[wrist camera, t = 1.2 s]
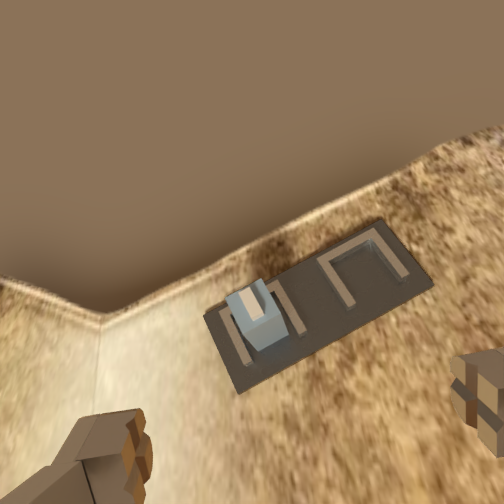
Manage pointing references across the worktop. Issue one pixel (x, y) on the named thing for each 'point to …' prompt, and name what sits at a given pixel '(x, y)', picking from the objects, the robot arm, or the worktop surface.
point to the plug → (257, 315)
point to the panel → (322, 302)
